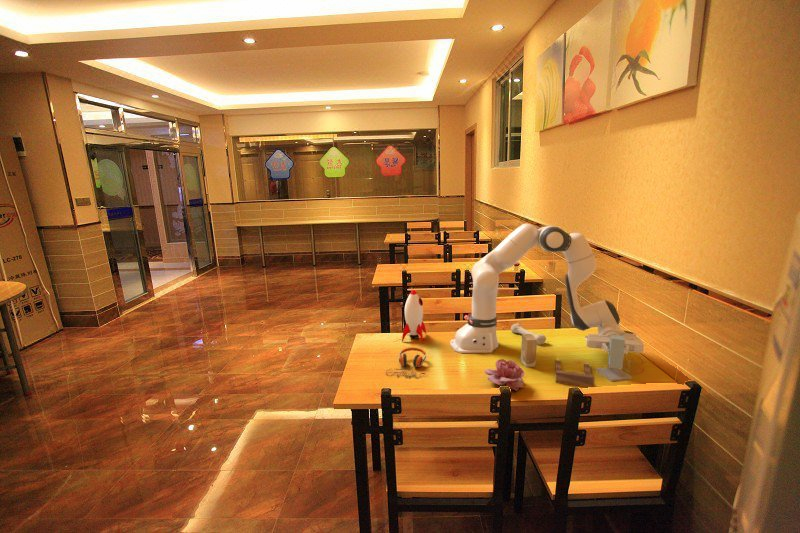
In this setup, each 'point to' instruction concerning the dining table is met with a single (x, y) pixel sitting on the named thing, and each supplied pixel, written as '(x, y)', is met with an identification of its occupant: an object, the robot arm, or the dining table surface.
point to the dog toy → (518, 329)
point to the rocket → (414, 316)
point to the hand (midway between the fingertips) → (616, 351)
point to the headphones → (416, 362)
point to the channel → (574, 376)
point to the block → (616, 351)
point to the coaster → (613, 374)
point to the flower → (506, 374)
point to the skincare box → (528, 350)
